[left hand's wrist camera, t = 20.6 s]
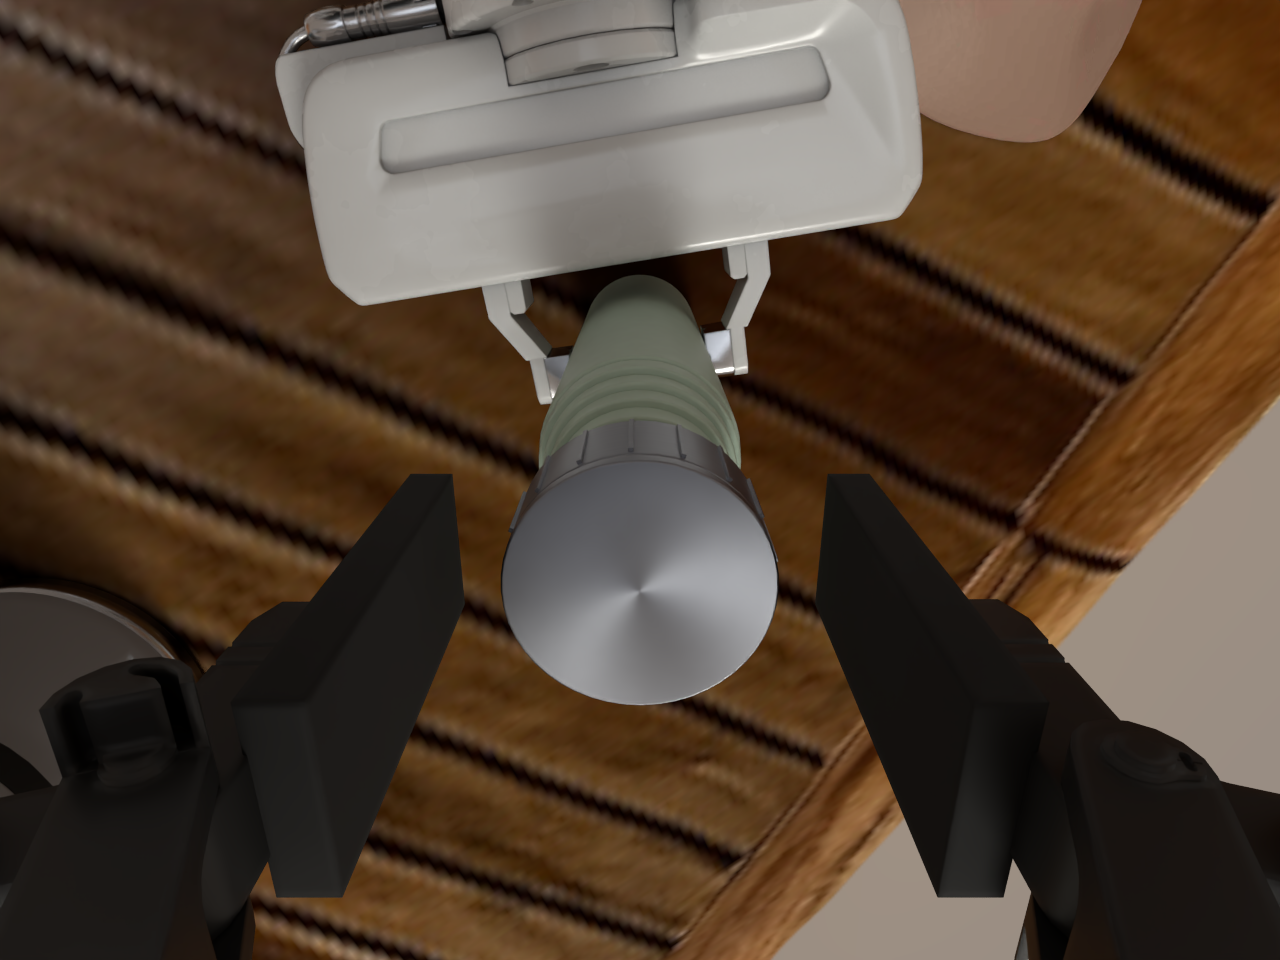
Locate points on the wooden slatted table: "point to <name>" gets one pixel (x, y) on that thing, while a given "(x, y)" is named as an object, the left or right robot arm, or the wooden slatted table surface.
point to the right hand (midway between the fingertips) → (644, 385)
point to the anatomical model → (1013, 61)
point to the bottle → (640, 369)
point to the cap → (639, 565)
